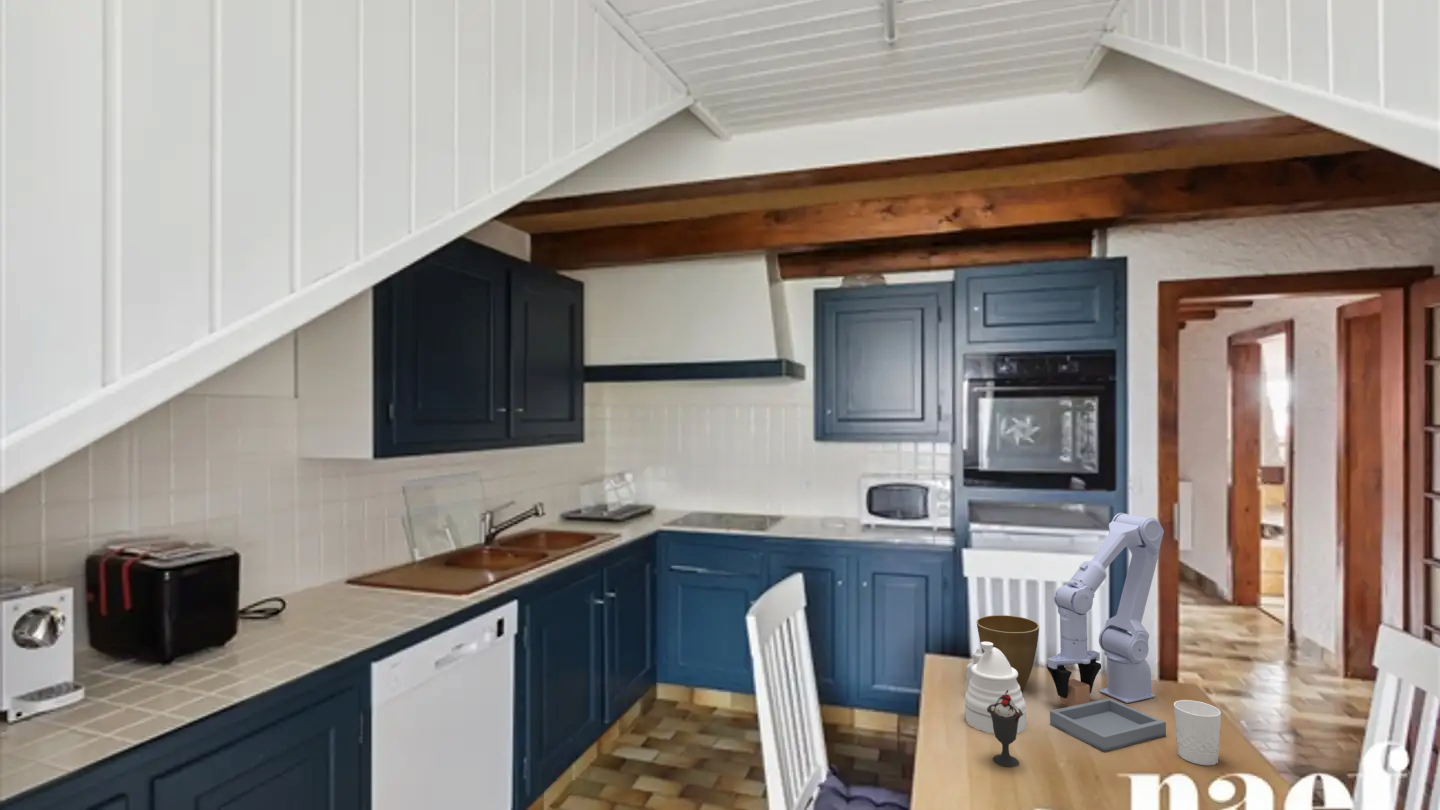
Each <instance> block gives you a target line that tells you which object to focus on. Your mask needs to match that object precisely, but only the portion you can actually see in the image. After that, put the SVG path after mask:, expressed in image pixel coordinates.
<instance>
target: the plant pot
mask: <svg viewBox="0 0 1440 810" xmlns="http://www.w3.org/2000/svg"><path fill="white" fill-rule="evenodd" d="M975 623H976V627H977V632H978V637H979V642H980V644H981V642H991V643H993V647H995V648H997V649H999V650H1000V651H1001V652H1002V653H1003V654H1004V655H1005V657H1006V658H1007V660H1008V662H1009V664H1010V666H1011V667H1012V668H1014V669H1015V670H1017V672H1018V677H1017V678H1016V680H1017V682H1018V684H1019V686H1020V690H1021V691H1023V690H1024V689H1026V687H1027V685H1028V682H1029V680H1030V679H1029V678H1030V676H1031V673H1032V670H1033V665H1034V662H1035V658H1036V654H1037V648H1038V641H1039V636H1040V635H1039V633H1040V624H1039V623H1038V622H1036V621H1035V620H1032V619H1029V618H1026V617H1023V616H1017V615H1007V614H1006V615H1004V614H1003V615H1002V614H998V615H995V614H993V615H986V616H982V617H979V618H978V619H976V622H975ZM980 647H981V652H982V654H983V653H984V652H985V651H984V650H983V649H982V646H981V645H980Z"/></svg>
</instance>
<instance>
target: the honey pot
mask: <svg viewBox="0 0 1440 810" xmlns="http://www.w3.org/2000/svg"><path fill="white" fill-rule="evenodd" d="M981 646H982V647H981ZM980 647H981V650H982V649H983V650H984V651H985V652H984V653H983V652H982V654H983V655H982V656H981V658H980V660H979V662H978V663H977V664H974V665H973V666H972V667H971V672H972V673H973V676H972V678H971V679H970V681H969V683H970V685H969V686H968V691H967V690H966V692H965V694H964V695H965V696H964V702H965V703H964V716H965V718H966V719H965V721H967V722H968V723H969V724H970V725H969V724H968V723H967V722H966V723H967V724H968V725H969V726H971V725H972V726H973V727H972V726H971V727H972V728H974V727H976V728H977V729H976V728H975V729H976V730H978V729H979V730H978V731H981V730H982V731H981V732H984V731H985V732H984V733H987V732H990V733H989V734H992V733H994V729H993V722H992V717H991V714H990V713H989V712H988V711H987V708H988V706H989V705H992V704H996V702H997V700H998V698H1000V697H1001V696H1002V695H1006V694H1007V695H1009V696H1010V698H1011V699H1012V700H1013V701H1014V703H1015V706H1017V708H1019V709H1020V710H1021V711H1022V713H1023V715H1022V716H1020V718H1019V721H1018V728H1017V734H1019V733H1018V732H1020V733H1022V732H1024V731H1025V730H1026V728H1027V712H1026V709H1027V708H1026V707H1027V706H1026V705H1027V703H1026V700H1025V698H1024V697H1023V692H1022V690H1020V686H1019V684H1018V682H1017V680H1016V678H1017V677H1018V672H1017V670H1015V669H1014V668H1012V667H1011V666H1010V664H1009V662H1008V660H1007V658H1006V657H1005V655H1004V654H1003V653H1002V652H1001V651H1000V650H999V649H997V648H995V647H993V643H991V642H981V643H980ZM1007 690H1008V693H1006V691H1007ZM1005 693H1006V694H1005ZM1023 730H1024V731H1023Z"/></svg>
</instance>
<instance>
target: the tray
mask: <svg viewBox="0 0 1440 810" xmlns="http://www.w3.org/2000/svg"><path fill="white" fill-rule="evenodd" d="M1049 724H1050V726H1052V727H1055V728H1056V729H1058V730H1061V731H1062V732H1064V733H1066V734H1067V735H1070V736H1071V737H1073V738H1076V739H1078V740H1080V741H1081V742H1083V743H1086V744H1087V745H1090V746H1092V747H1094V748H1095V749H1097V750H1099V751H1101V752H1104V753H1105V752H1106V753H1107V752H1110V751H1114V750H1118V749H1122V748H1125V746H1126V747H1129V745H1130V746H1132V745H1137V744H1141V743H1145V742H1148V740H1149V741H1152V739H1153V740H1155V738H1157V739H1160V738H1163V737H1162V736H1164V737H1166V736H1167V721H1164V720H1162V719H1160V718H1157V717H1155V716H1152V715H1150V714H1148V713H1146V712H1143V711H1141V710H1139V709H1136V708H1134V707H1131V706H1129V705H1127V704H1125V703H1122V702H1121V701H1120V702H1119V700H1118V701H1117V700H1115V699H1114V698H1110V697H1107V698H1103V699H1099V700H1093V701H1090V702H1088V703H1084V704H1079V705H1075V706H1067V707H1063V708H1057V709H1053V710H1049ZM1159 737H1160V738H1159ZM1144 741H1145V742H1144ZM1136 743H1137V744H1136Z"/></svg>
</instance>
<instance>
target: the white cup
mask: <svg viewBox="0 0 1440 810" xmlns="http://www.w3.org/2000/svg"><path fill="white" fill-rule="evenodd" d="M1173 712H1174V724H1175V725H1174V726H1175V735H1176V736H1175V737H1176V742H1177V753H1178V756H1180V757H1181V759H1183V760H1185V761H1187V762H1189V763H1193V764H1195V765H1199V766H1215V765H1217V764H1218V763H1219V752H1220V751H1219V750H1220V744H1221V743H1220V742H1221V719H1222V716H1221V714H1222V712H1221V710H1220V709H1219V708H1218V707H1216V706H1214V705H1211V704H1209V703H1206V702H1202V701H1197V700H1191V699H1179V700H1176V701H1174V702H1173ZM1216 763H1217V764H1216Z"/></svg>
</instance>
